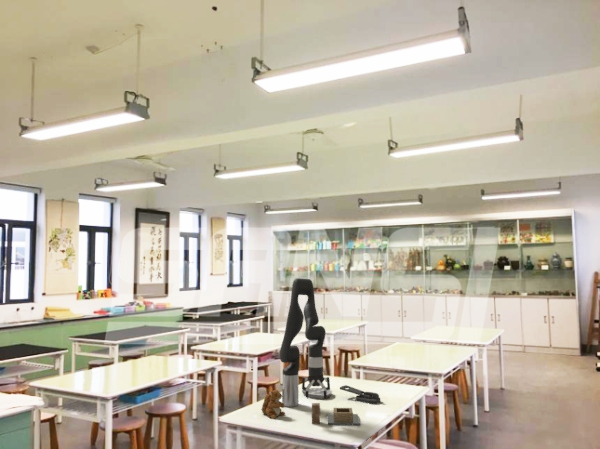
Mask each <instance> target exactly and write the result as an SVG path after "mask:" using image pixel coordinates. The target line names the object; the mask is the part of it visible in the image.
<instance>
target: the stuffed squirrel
mask: <svg viewBox="0 0 600 449" xmlns="http://www.w3.org/2000/svg"><path fill="white" fill-rule="evenodd" d="M282 398H283V397H282V392H280V391H279V390H278V389H274V390H272V391H269V393H268V394H266V395H265V397H264V399H263V403H262V406H261V411H262V412H261V413H262V414H263V415H265V414H267V415H266V416H267V417H268V418H269V417H271V418H270V419H272V418H275V419H276V418H277V417H278V416H285V415H286V412H285V411H282V409H284V408H285V407H286V406H285V405H284V403H282V401H280V400H282ZM281 408H282V409H281ZM284 414H285V415H284Z"/></svg>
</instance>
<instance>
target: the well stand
mask: <svg viewBox="0 0 600 449" xmlns="http://www.w3.org/2000/svg"><path fill="white" fill-rule="evenodd" d="M326 417H327V425H328V426H361V422H360V417H359V414H358V413H354V412H353V408H352V407H333V413H327V416H326Z"/></svg>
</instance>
